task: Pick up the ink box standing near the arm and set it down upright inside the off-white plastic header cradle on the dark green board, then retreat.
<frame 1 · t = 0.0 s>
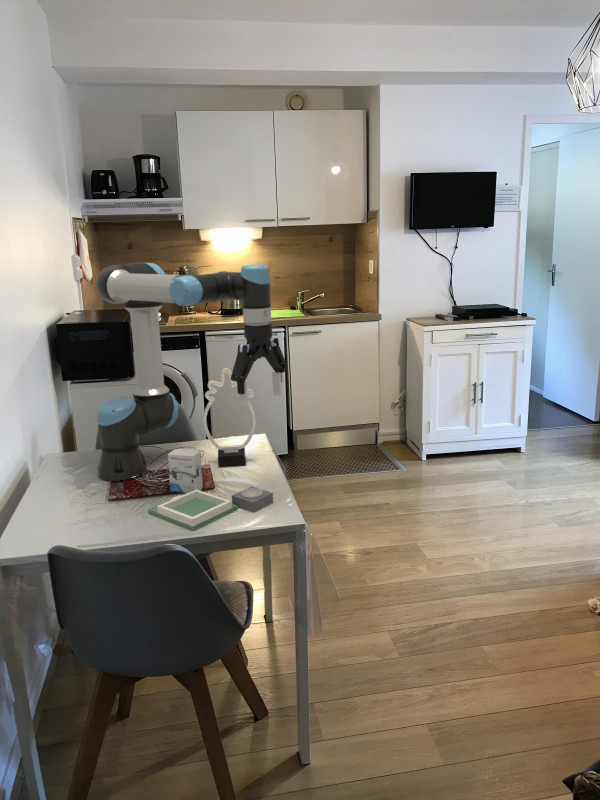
hand: (261, 400, 179), 28 cm above the table, fingers open, 13 cm apart
ink box: (187, 490, 191), on the table
lamp: (232, 462, 213), on the table
board: (193, 511, 176), on the table
push button: (252, 504, 179), on the table
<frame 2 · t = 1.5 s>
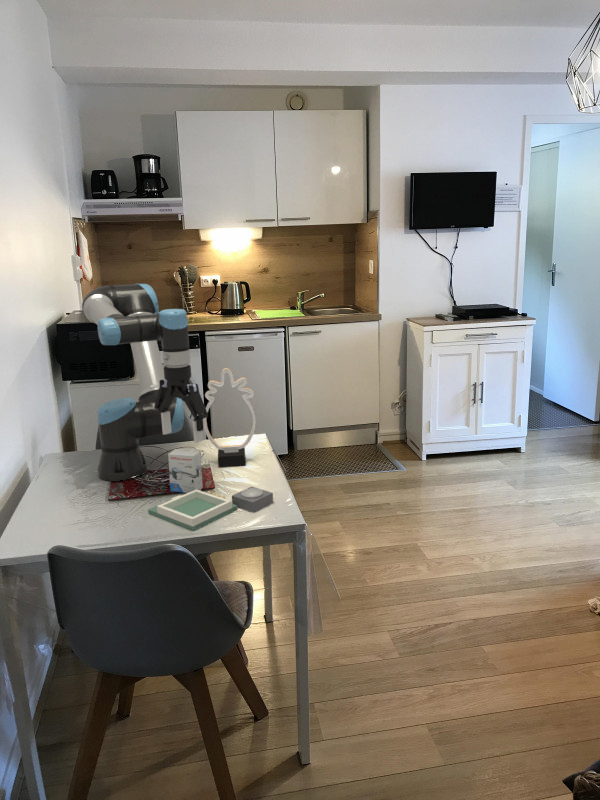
hand: (182, 437, 186), 16 cm above the table, fingers open, 13 cm apart
nothing on the table moved.
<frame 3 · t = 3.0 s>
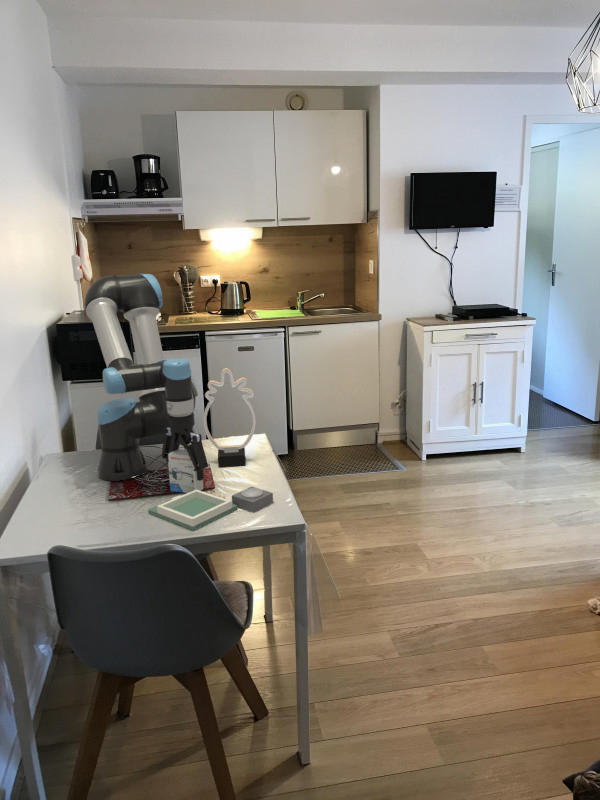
hand: (186, 486, 190), 1 cm above the table, fingers open, 10 cm apart
ink box: (187, 490, 191), on the table, touching gripper
everything else where it was.
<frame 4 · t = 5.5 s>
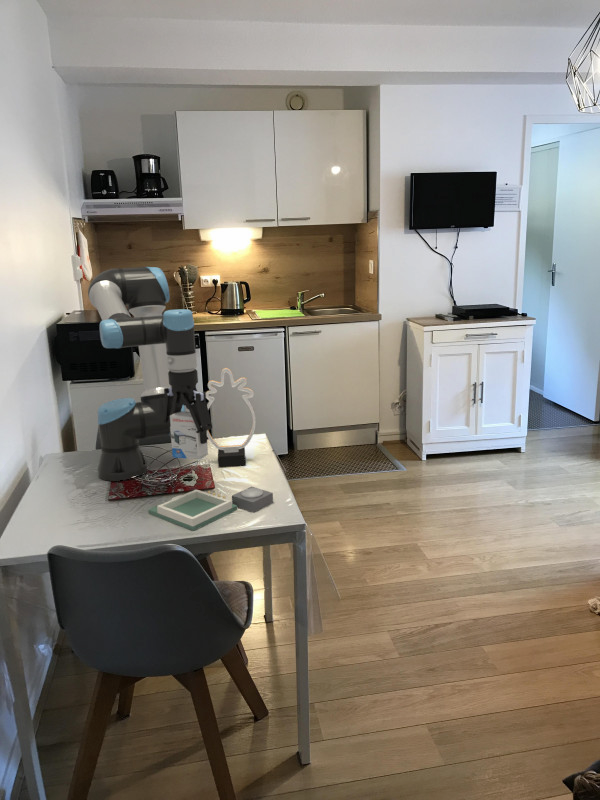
hand: (189, 451, 173), 17 cm above the table, fingers closed on ink box, 9 cm apart
ink box: (190, 456, 174), point 15 cm above the table, touching gripper
everything else where it was.
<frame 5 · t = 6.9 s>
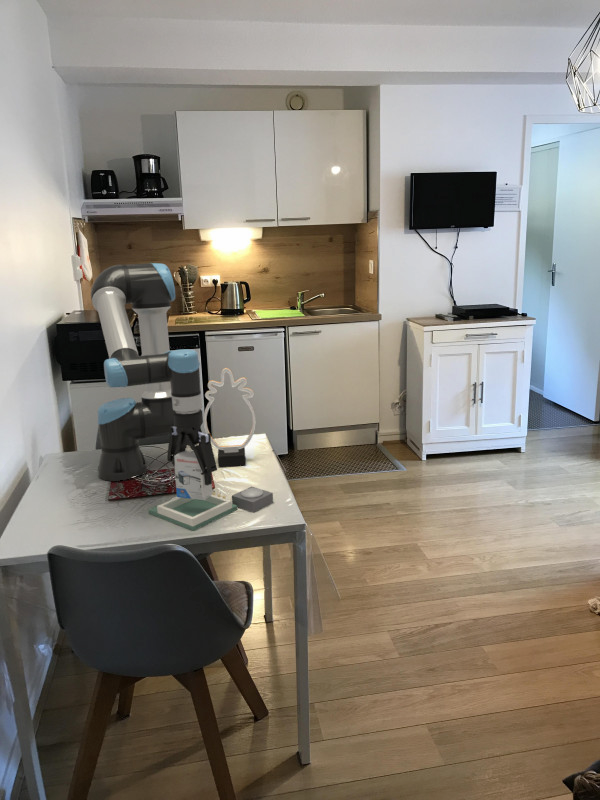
hand: (193, 491, 172), 7 cm above the table, fingers closed on ink box, 9 cm apart
ink box: (195, 496, 173), point 5 cm above the table, touching gripper
everything else where it was.
when the fingers open (4 cm above the table, at t = 7.9 s): ink box drops 1 cm, resting on board.
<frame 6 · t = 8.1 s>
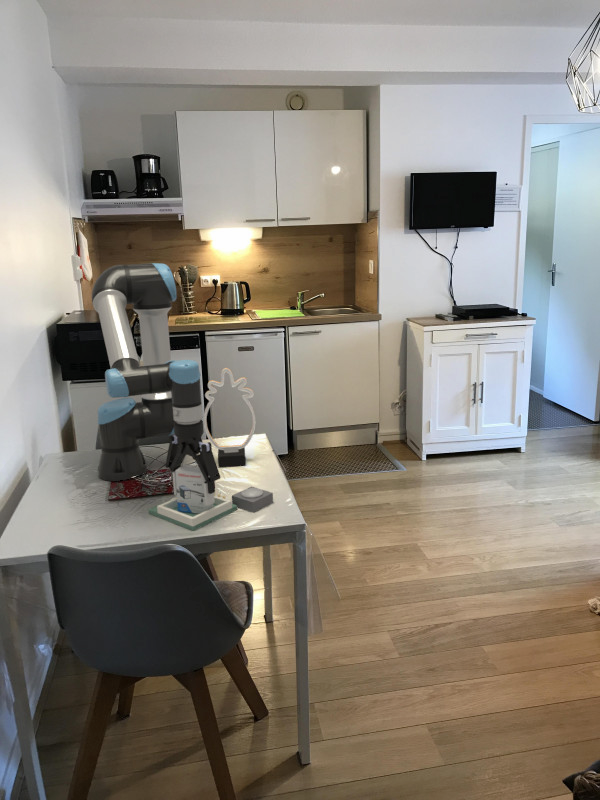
hand: (194, 498, 173), 5 cm above the table, fingers open, 11 cm apart
ink box: (196, 510, 174), point 1 cm above the table, touching board
everything else where it was.
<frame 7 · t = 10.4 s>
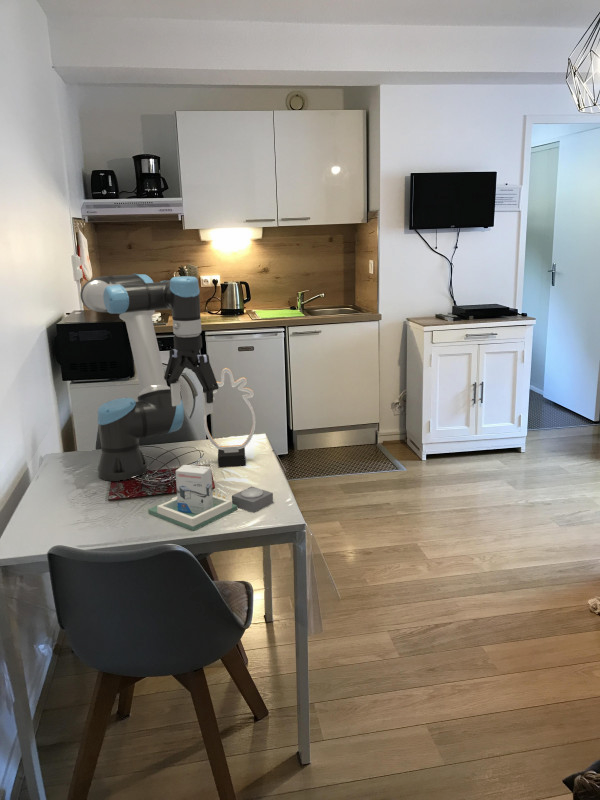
hand: (192, 409, 181), 25 cm above the table, fingers open, 13 cm apart
nothing on the table moved.
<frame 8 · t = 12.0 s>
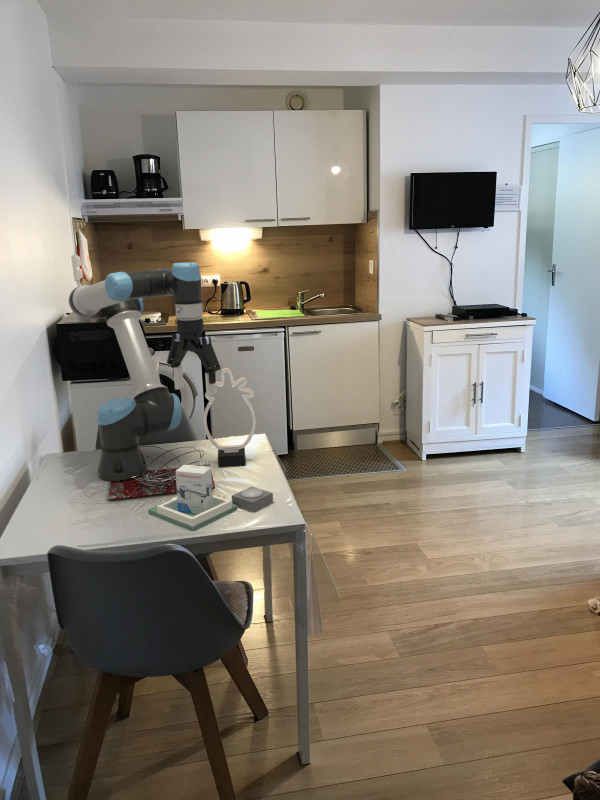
hand: (194, 391, 188), 29 cm above the table, fingers open, 13 cm apart
nothing on the table moved.
at the end: ink box 0.4 cm from the target spot on the board, point 1.0 cm above the board's base; ink box tilted 0°; the gripper is holding nothing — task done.
